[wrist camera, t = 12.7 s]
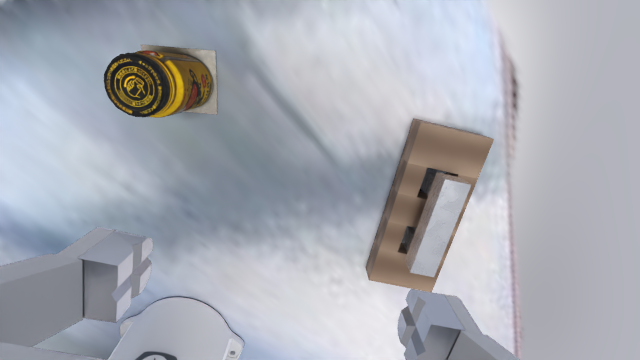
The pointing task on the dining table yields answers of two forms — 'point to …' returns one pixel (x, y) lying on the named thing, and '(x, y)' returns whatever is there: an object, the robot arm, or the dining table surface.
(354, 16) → the dining table surface
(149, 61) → the condiment
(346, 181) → the dining table surface
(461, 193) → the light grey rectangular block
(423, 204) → the brown wooden block
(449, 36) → the dining table surface
